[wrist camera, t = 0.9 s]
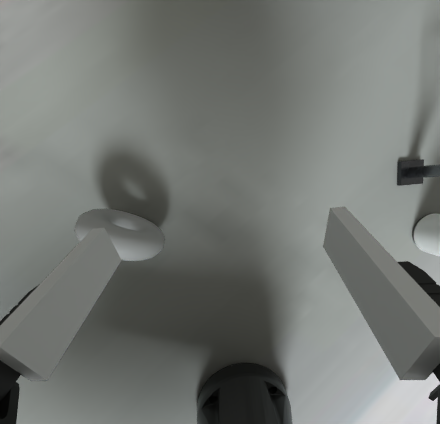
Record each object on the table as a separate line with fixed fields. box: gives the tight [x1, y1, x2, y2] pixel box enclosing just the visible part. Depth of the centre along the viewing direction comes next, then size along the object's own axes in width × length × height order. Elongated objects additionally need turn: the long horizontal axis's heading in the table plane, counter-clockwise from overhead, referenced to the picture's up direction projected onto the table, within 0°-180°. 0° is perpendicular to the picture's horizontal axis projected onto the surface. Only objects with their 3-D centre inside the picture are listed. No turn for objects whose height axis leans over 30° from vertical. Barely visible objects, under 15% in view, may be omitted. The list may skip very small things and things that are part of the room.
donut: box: [75, 209, 165, 261], centre depth 25 cm, size 10×3×10 cm, turn 67°
